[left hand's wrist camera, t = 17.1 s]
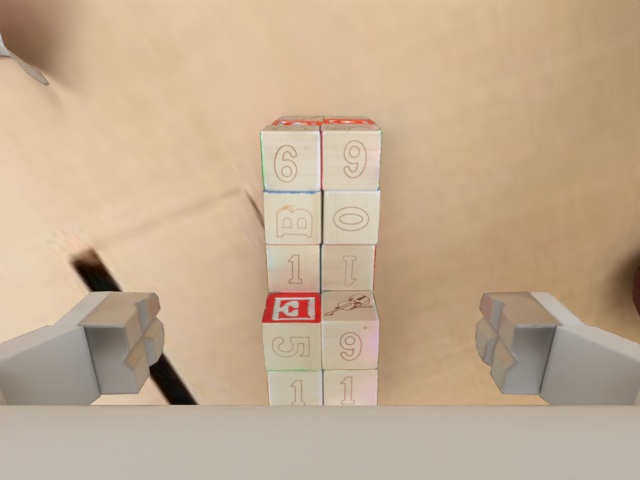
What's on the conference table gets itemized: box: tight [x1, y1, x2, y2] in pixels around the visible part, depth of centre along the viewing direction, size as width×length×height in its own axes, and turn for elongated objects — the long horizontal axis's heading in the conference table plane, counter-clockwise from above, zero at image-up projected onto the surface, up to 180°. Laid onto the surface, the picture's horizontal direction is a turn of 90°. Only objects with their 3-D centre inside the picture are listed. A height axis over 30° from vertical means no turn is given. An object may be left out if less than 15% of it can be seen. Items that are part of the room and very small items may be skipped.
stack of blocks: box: [260, 116, 382, 405], centre depth 27 cm, size 21×6×12 cm, turn 0°
